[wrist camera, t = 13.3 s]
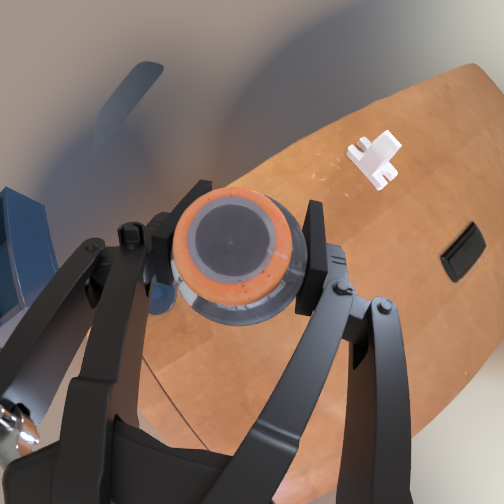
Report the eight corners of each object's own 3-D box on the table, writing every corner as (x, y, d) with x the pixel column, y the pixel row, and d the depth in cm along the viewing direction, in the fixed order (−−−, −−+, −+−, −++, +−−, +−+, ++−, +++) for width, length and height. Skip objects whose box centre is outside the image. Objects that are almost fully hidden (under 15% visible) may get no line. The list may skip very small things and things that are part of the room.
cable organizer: (378, 191, 48) (401, 169, 38) (344, 152, 50) (358, 124, 40) (395, 177, 48) (417, 154, 39) (361, 140, 50) (377, 112, 40)
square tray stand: (147, 324, 46) (-27, 350, 11) (128, 281, 47) (-44, 247, 12) (187, 304, 46) (25, 307, 11) (166, 259, 48) (5, 185, 13)
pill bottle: (212, 320, 20) (153, 345, 8) (201, 240, 21) (138, 177, 9) (296, 307, 20) (337, 317, 8) (281, 226, 21) (300, 147, 9)
